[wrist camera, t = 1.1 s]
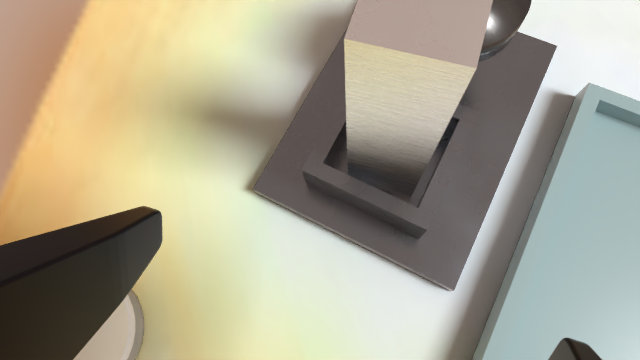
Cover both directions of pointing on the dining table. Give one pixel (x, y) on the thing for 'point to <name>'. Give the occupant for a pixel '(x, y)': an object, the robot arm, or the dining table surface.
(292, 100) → the dining table surface
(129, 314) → the travel mug
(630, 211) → the tray
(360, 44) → the pin
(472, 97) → the grey socket fixture
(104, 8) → the dining table surface
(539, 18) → the dining table surface
